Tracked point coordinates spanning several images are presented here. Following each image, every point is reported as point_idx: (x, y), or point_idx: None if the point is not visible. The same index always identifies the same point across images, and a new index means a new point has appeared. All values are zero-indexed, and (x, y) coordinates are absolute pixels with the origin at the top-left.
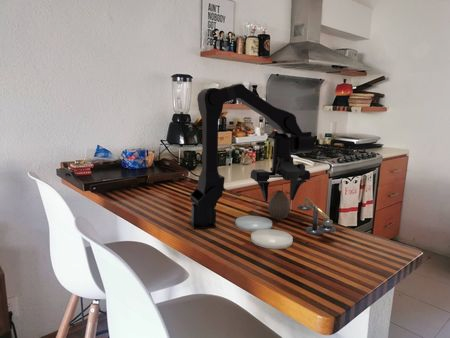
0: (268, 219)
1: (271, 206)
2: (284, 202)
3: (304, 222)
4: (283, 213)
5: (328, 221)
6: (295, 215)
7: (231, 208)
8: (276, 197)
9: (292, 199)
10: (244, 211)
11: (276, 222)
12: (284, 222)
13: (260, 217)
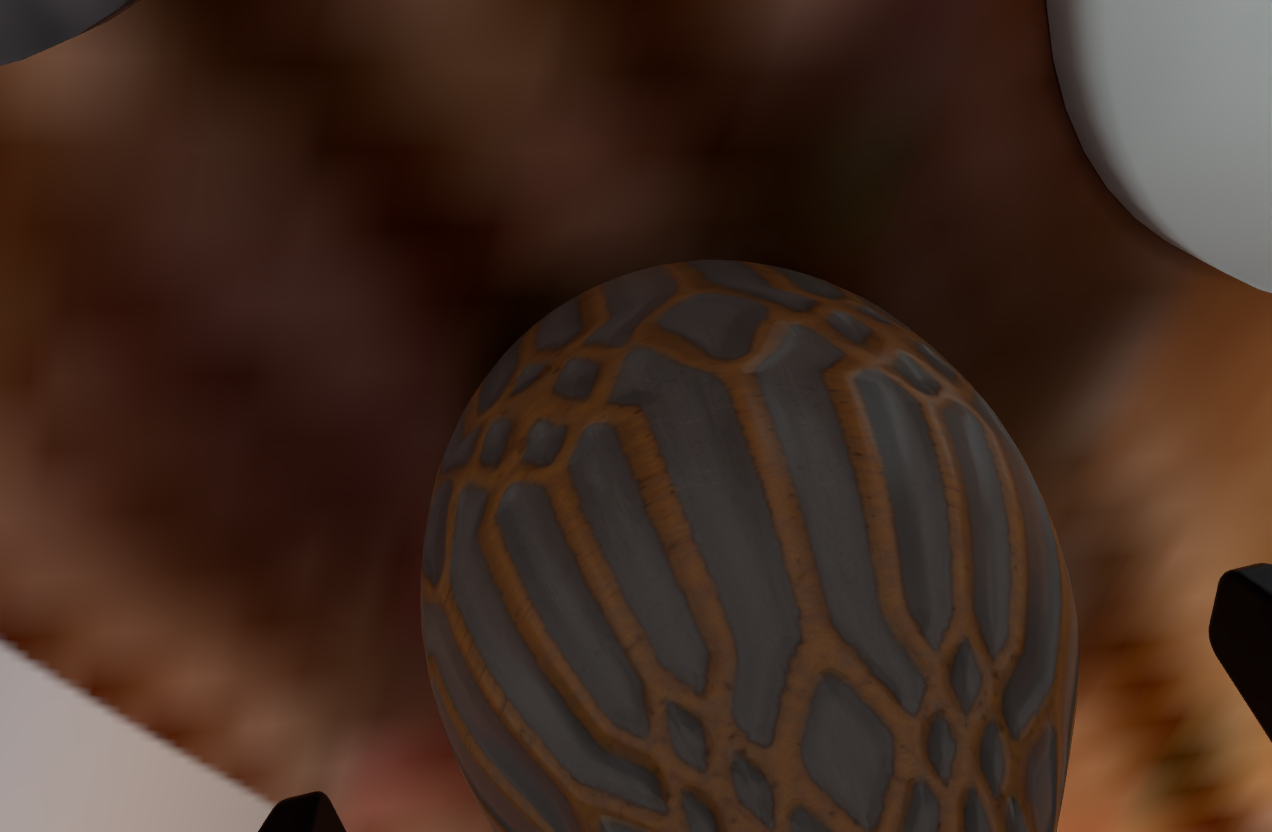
0: (1126, 13)
1: (1026, 463)
2: (720, 488)
3: (61, 43)
4: (668, 270)
5: None
6: (233, 558)
7: (1258, 778)
8: (1031, 699)
9: (302, 812)
10: (1145, 679)
11: (843, 64)
12: (642, 59)
13: (1227, 183)
